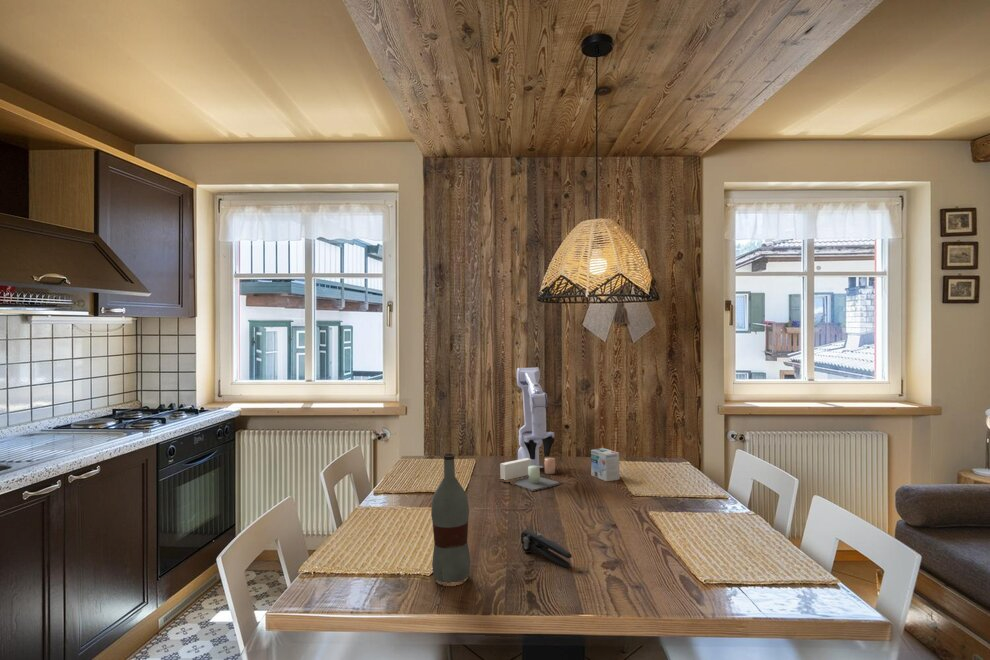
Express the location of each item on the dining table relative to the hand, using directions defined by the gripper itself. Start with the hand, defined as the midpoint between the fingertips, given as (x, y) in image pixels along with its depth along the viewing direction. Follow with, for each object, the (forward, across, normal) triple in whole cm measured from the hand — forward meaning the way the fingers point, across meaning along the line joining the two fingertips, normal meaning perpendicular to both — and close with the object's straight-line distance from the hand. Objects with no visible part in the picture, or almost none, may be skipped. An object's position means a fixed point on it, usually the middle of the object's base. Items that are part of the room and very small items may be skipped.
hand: (539, 457), depth 208 cm
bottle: (+9, -72, -48) cm, 87 cm away
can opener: (+10, -46, -54) cm, 71 cm away
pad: (+9, -5, -2) cm, 11 cm away
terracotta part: (+10, +11, +6) cm, 16 cm away
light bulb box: (+10, +24, -13) cm, 29 cm away
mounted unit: (+10, -5, +9) cm, 14 cm away
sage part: (+9, -5, -2) cm, 10 cm away
